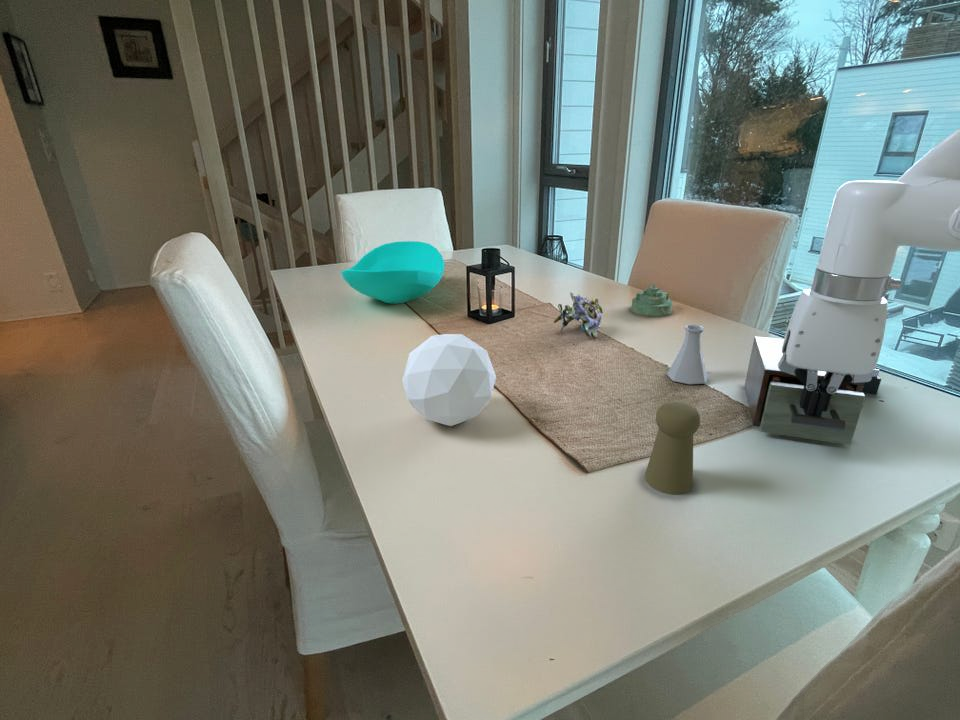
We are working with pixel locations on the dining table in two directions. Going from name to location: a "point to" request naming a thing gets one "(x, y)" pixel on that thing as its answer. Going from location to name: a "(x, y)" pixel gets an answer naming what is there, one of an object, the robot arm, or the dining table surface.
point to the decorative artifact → (652, 302)
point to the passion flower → (582, 314)
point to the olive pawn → (673, 448)
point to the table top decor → (397, 271)
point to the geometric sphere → (449, 379)
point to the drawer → (791, 420)
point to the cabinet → (768, 373)
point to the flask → (690, 359)
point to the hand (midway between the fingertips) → (811, 413)
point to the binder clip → (872, 383)
